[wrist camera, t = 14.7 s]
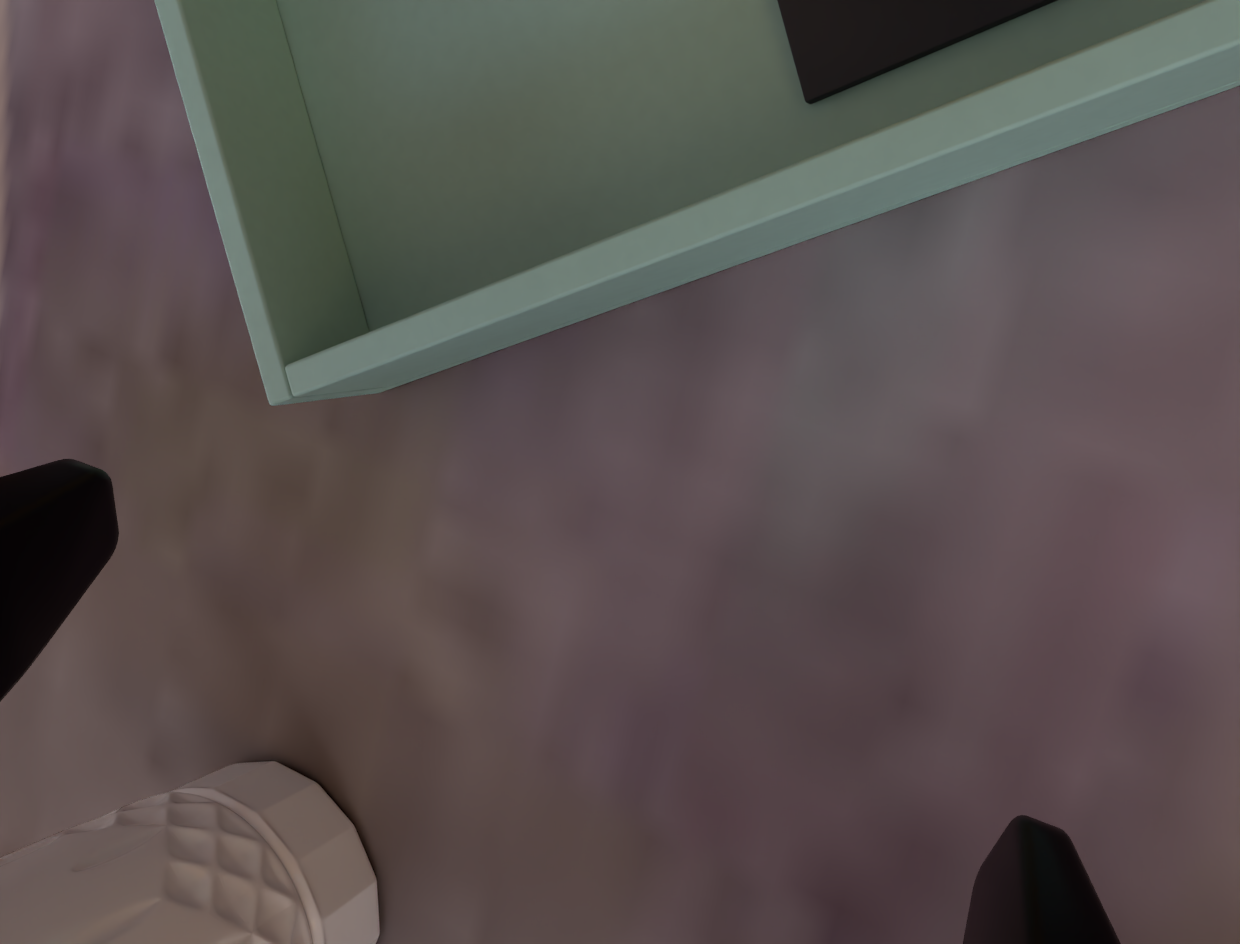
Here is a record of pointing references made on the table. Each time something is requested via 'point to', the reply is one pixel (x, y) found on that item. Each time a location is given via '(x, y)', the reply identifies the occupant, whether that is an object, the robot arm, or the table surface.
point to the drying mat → (880, 35)
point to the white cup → (199, 870)
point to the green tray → (597, 152)
